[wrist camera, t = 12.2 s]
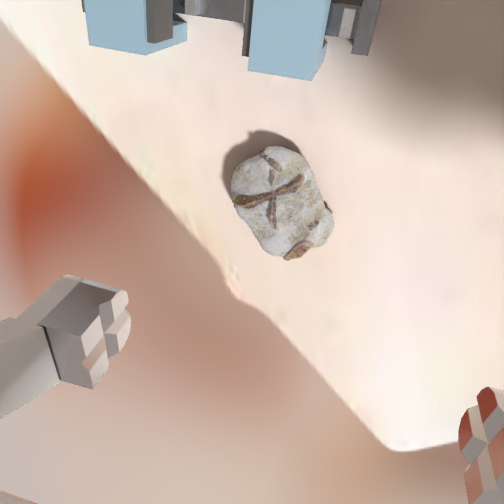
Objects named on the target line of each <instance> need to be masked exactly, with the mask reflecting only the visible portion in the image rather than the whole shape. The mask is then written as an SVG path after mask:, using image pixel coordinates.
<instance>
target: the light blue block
mask: <svg viewBox="0 0 504 504" xmlns="http://www.w3.org/2000/svg"><path fill="white" fill-rule="evenodd" d="M84 5H85V14H86V22H87V30H88V39H89V45H91V46H96V47H102V48H107V49H113V50H119V51H124V52H130V53H135V54H141V55H148V54H150V53H153V52H156V51H159V50H162V49H165V48H167V47H170V46H173V45H176V44H179V43H182V42H184V41H187V23H186V22H180V21H174V20H173V0H84Z"/></svg>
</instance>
